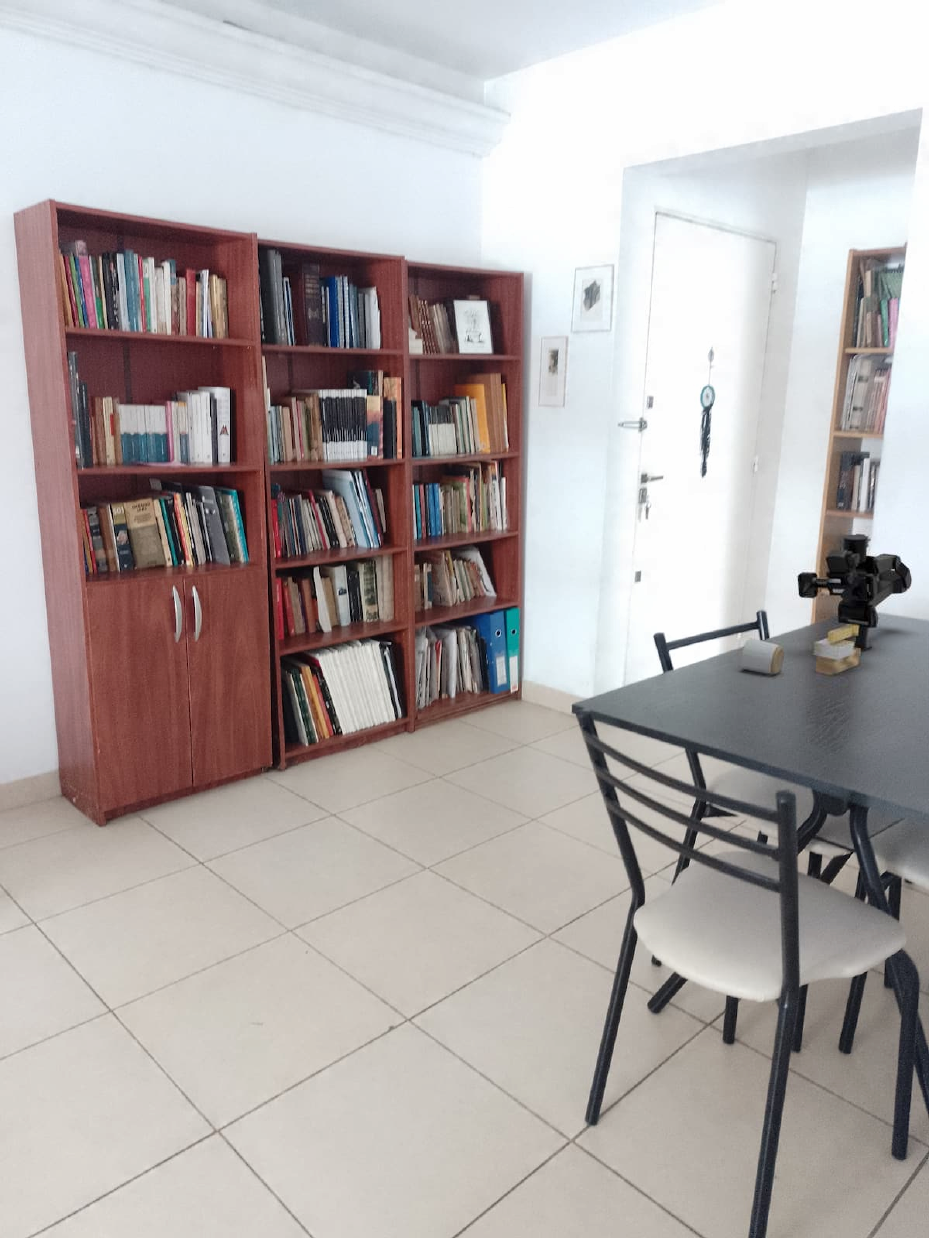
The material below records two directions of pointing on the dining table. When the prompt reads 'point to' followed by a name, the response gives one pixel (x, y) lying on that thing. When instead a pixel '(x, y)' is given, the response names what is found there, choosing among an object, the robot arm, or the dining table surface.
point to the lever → (843, 632)
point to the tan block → (838, 661)
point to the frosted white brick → (833, 649)
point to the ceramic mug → (762, 656)
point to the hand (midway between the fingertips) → (822, 595)
